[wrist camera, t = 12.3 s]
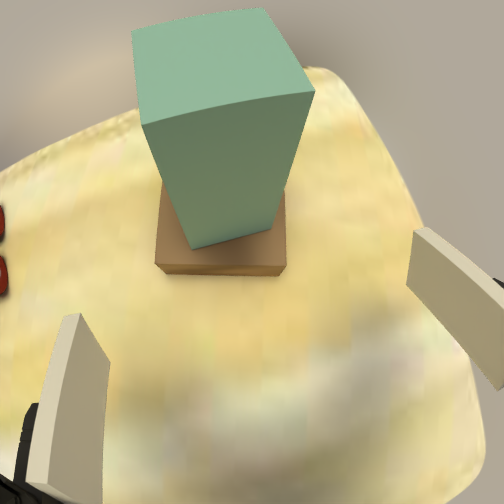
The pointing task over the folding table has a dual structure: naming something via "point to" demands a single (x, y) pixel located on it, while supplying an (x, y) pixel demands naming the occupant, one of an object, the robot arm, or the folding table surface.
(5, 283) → the toy fire truck
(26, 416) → the robot arm
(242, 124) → the pillar
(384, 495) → the folding table surface
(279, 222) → the slab
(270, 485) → the folding table surface
